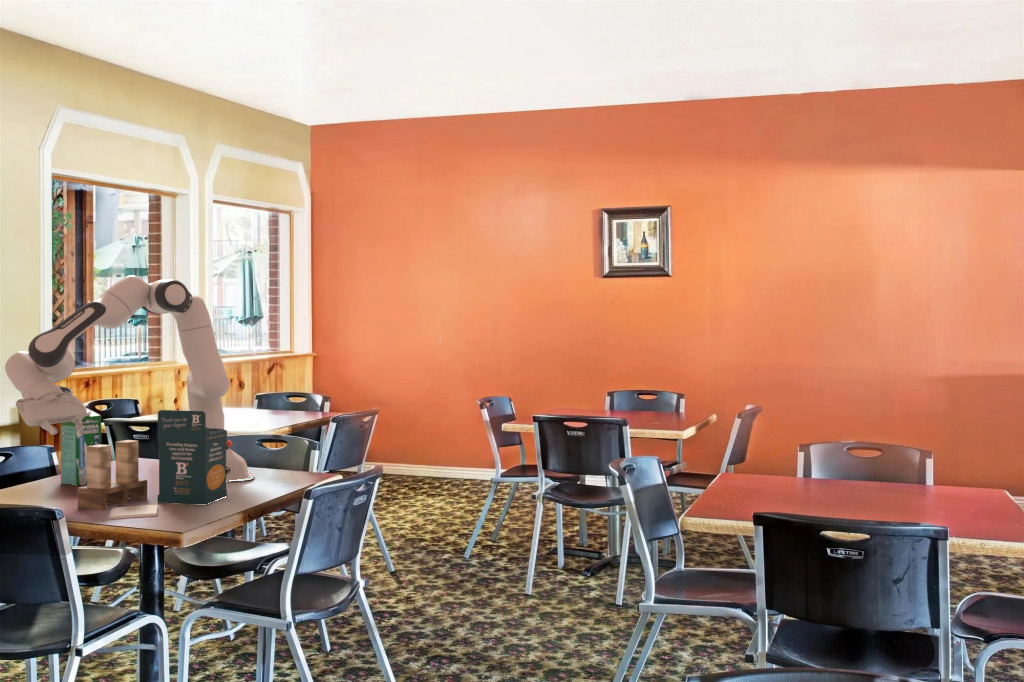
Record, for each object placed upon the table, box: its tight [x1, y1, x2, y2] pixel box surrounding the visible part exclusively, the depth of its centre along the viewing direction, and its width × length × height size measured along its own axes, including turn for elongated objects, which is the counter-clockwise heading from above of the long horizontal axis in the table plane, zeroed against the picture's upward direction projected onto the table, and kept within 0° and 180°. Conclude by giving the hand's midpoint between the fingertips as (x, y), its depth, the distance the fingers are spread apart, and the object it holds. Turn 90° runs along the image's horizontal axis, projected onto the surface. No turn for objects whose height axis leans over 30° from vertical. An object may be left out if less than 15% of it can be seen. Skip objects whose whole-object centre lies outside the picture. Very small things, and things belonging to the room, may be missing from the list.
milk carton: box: [60, 407, 102, 486], centre depth 297 cm, size 9×9×25 cm
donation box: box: [157, 409, 228, 505], centre depth 271 cm, size 16×16×28 cm
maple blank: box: [86, 444, 112, 489], centre depth 258 cm, size 4×4×12 cm
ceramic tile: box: [109, 504, 159, 520], centre depth 251 cm, size 12×12×1 cm
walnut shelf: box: [77, 478, 148, 512], centre depth 264 cm, size 18×9×6 cm, turn 161°
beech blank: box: [115, 439, 140, 482], centre depth 269 cm, size 4×4×12 cm
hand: (68, 431), depth 262 cm, fingers open, 8 cm apart
